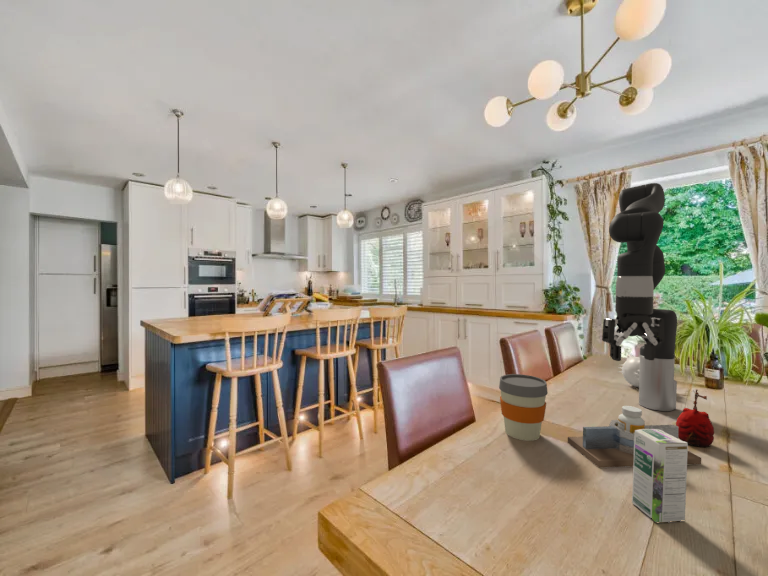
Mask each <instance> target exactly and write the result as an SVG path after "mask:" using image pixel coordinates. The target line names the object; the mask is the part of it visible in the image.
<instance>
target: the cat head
mask: <svg viewBox="0 0 768 576" xmlns="http://www.w3.org/2000/svg"><path fill="white" fill-rule="evenodd" d="M619 366H620V367H619ZM619 366H617V367H616V368H617V369H621V371H617V373H621V374H622V376H623V378H624V380H625V381H626V382H627V383H628V384H629V385H631V386H633V387H636V388H638V389H639V369H640V356H634V355H632V354H630V353H628V354H627V355H626V360H625V362H624V363H623V364H619ZM621 366H622V367H621Z"/></svg>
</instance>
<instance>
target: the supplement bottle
mask: <svg viewBox="0 0 768 576" xmlns="http://www.w3.org/2000/svg"><path fill="white" fill-rule="evenodd" d="M642 411H643V410H642V409H641V408H638V407H636V406H633V405H632V406H631V405H623V406H621V413H620V414H619V415H618V416H617V417H618V418H617V420H618V427H619V428H621V429H622V430H626V431H630V432H634V433H635V430H639V429H644V427H645V424H646V423H645V420H644V418H642V415H643V412H642Z"/></svg>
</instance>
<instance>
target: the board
mask: <svg viewBox="0 0 768 576" xmlns="http://www.w3.org/2000/svg"><path fill="white" fill-rule="evenodd" d="M567 444H569V445H570V446H571V447H572V448H574V449H575V450H576V451H578V452H579V453H580V454H582V455H583V456H584V457H585V458H587V459H588V460H589V461H590V462H591V463H593V464H594V465H595V466H597V467H598V468H625V466H630V467H633V465H634V455H633V454H629V453H626V452H622V451H619V450H618V449H616V448H612V449H585V448H584V447H583V435H582V436H567ZM687 464H692V465H702V457H700V456H699V455H697V454H695V453H693V452H691V451H689V450H688V455H687Z"/></svg>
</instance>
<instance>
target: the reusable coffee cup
mask: <svg viewBox="0 0 768 576" xmlns="http://www.w3.org/2000/svg"><path fill="white" fill-rule="evenodd" d="M498 387H499V390H500V396H499V403H500V410H501V414H502V416H503V423H504V424H503V425H504V430H505V431H504V432H505V433H506V435H508V436H509V437H511V438H514V439H517V440H520V441H526V442H527V441H529V442H531V441H536V440H538V439H539V438H540V436H541V430H542V425H543V424H542V423H543V421H544V420H545V416H546V415H545V414H546V408H547V402H546V396H548V384H547V381H546V380H545V379H543V378H540V377H537V376H534V375H529V374H521V373H510V374H508V373H507V374H504V375H501V376H500V377H499V385H498Z"/></svg>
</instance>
